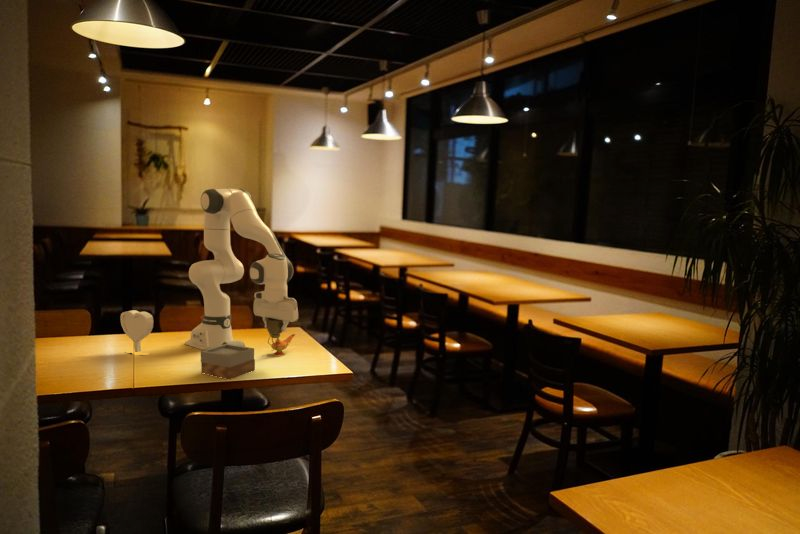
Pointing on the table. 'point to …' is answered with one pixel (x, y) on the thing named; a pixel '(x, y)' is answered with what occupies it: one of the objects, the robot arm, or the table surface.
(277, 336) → the cup
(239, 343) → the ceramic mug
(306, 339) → the table surface
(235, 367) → the tower block low
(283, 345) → the magic lamp
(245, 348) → the tower block high
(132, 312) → the heart sculpture
